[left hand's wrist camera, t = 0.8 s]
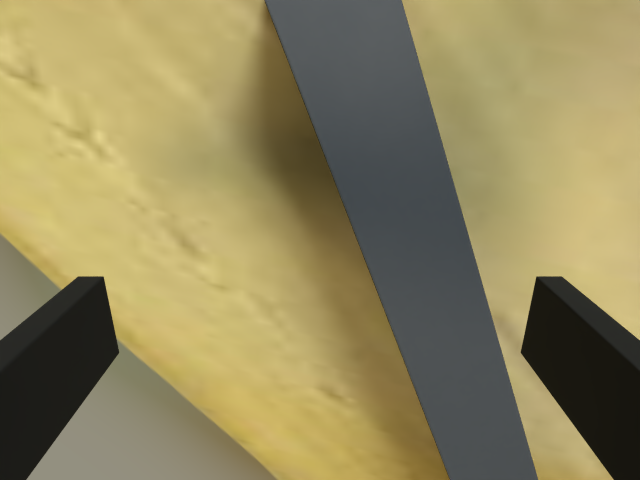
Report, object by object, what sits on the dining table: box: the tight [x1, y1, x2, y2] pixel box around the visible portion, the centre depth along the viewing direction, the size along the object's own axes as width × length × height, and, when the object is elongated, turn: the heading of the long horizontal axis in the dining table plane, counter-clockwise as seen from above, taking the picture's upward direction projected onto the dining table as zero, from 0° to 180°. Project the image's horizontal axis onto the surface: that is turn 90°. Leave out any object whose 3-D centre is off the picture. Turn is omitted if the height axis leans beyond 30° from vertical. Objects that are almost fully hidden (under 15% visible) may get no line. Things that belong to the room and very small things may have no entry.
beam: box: [265, 0, 538, 480], centre depth 32 cm, size 61×6×8 cm, turn 21°
